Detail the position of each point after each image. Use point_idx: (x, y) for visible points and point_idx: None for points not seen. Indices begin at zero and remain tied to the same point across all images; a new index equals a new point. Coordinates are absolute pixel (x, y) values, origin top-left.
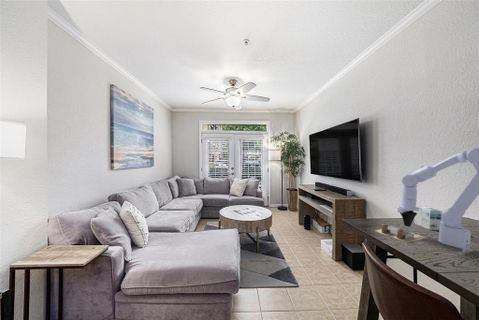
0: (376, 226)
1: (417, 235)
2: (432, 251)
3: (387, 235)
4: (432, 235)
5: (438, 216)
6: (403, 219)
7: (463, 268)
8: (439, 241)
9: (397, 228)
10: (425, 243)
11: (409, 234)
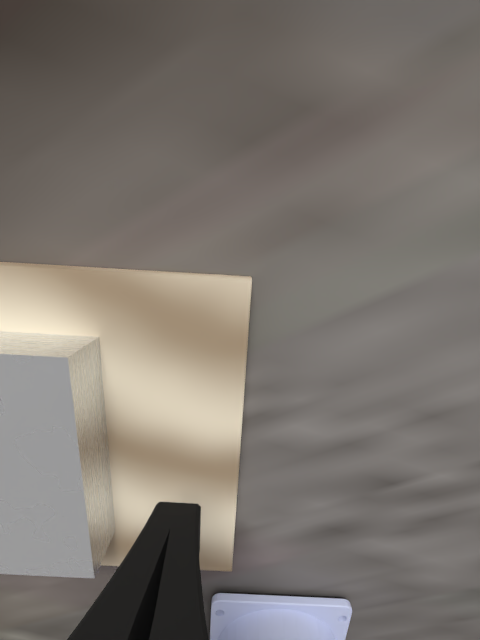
0: (128, 102)
1: (216, 520)
2: (16, 630)
3: None
4: (436, 525)
5: None
6: (85, 622)
7: None
8: (236, 628)
9: (52, 441)
10: None
11: (2, 569)
